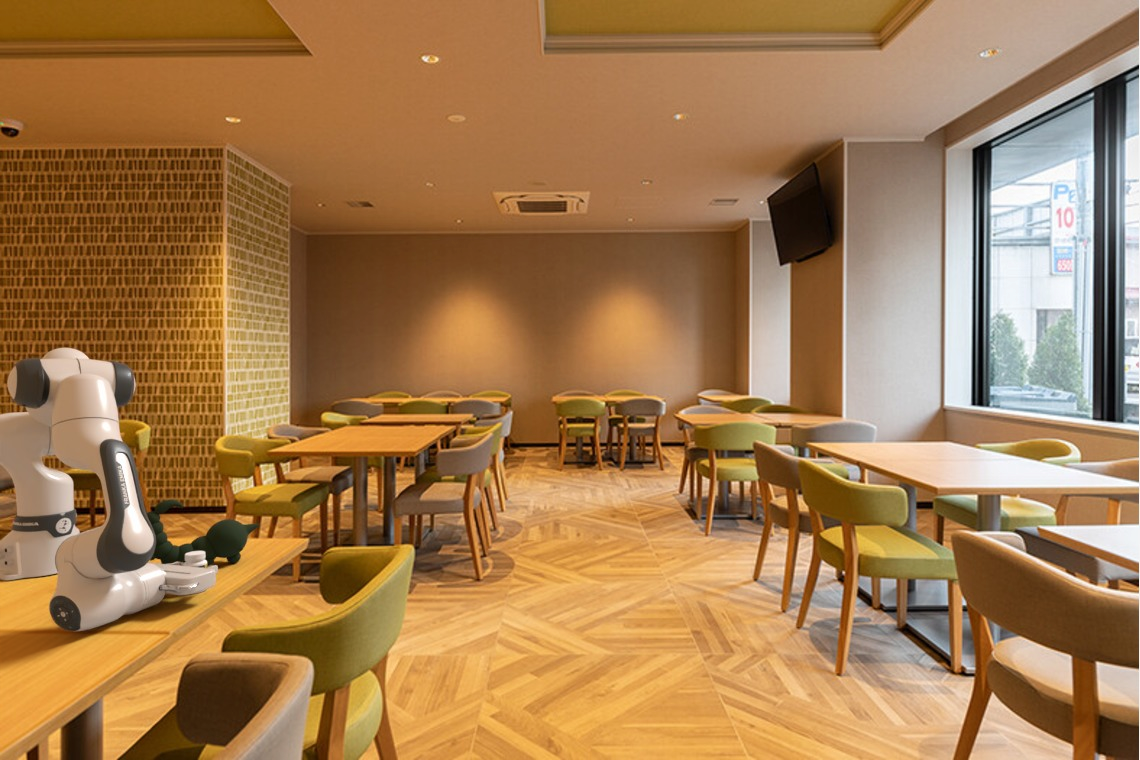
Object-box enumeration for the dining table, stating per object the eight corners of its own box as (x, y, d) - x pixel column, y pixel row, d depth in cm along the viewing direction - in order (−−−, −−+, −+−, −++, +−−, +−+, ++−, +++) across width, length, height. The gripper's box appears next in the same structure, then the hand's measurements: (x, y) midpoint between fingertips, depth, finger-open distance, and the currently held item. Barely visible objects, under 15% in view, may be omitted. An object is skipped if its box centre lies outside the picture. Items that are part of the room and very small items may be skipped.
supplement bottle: (196, 595, 145) (196, 556, 144) (177, 593, 146) (177, 555, 145) (212, 587, 149) (212, 550, 149) (194, 586, 150) (193, 549, 150)
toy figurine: (152, 588, 155) (267, 559, 169) (141, 508, 153) (258, 486, 168) (148, 578, 162) (258, 551, 177) (138, 501, 161) (250, 481, 176)
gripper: (182, 575, 132) (236, 556, 145) (104, 567, 138) (162, 549, 151) (183, 606, 132) (236, 585, 145) (104, 597, 138) (163, 577, 151)
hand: (198, 566), depth 148 cm, fingers open, 8 cm apart
